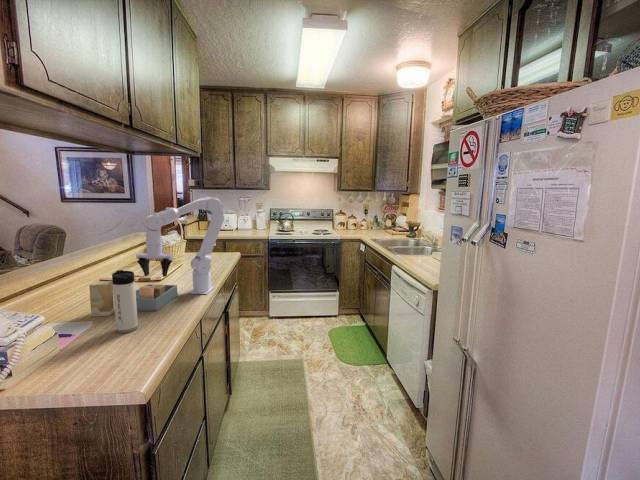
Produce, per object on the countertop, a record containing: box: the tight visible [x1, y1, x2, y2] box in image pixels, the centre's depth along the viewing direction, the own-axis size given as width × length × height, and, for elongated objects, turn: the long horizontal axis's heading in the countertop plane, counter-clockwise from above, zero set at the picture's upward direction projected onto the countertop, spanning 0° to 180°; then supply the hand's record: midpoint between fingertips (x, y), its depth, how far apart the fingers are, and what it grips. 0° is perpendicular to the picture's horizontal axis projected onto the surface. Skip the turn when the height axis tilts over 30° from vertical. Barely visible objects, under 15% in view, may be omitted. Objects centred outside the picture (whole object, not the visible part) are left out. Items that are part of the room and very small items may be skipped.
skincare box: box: [88, 280, 115, 317], centre depth 114 cm, size 6×4×12 cm
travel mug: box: [111, 269, 139, 334], centre depth 102 cm, size 6×7×20 cm
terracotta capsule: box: [138, 285, 154, 299], centre depth 123 cm, size 5×5×7 cm
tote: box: [135, 283, 179, 312], centre depth 127 cm, size 17×13×5 cm
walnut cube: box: [152, 284, 166, 299], centre depth 131 cm, size 5×5×5 cm
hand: (155, 275), depth 129 cm, fingers open, 7 cm apart
